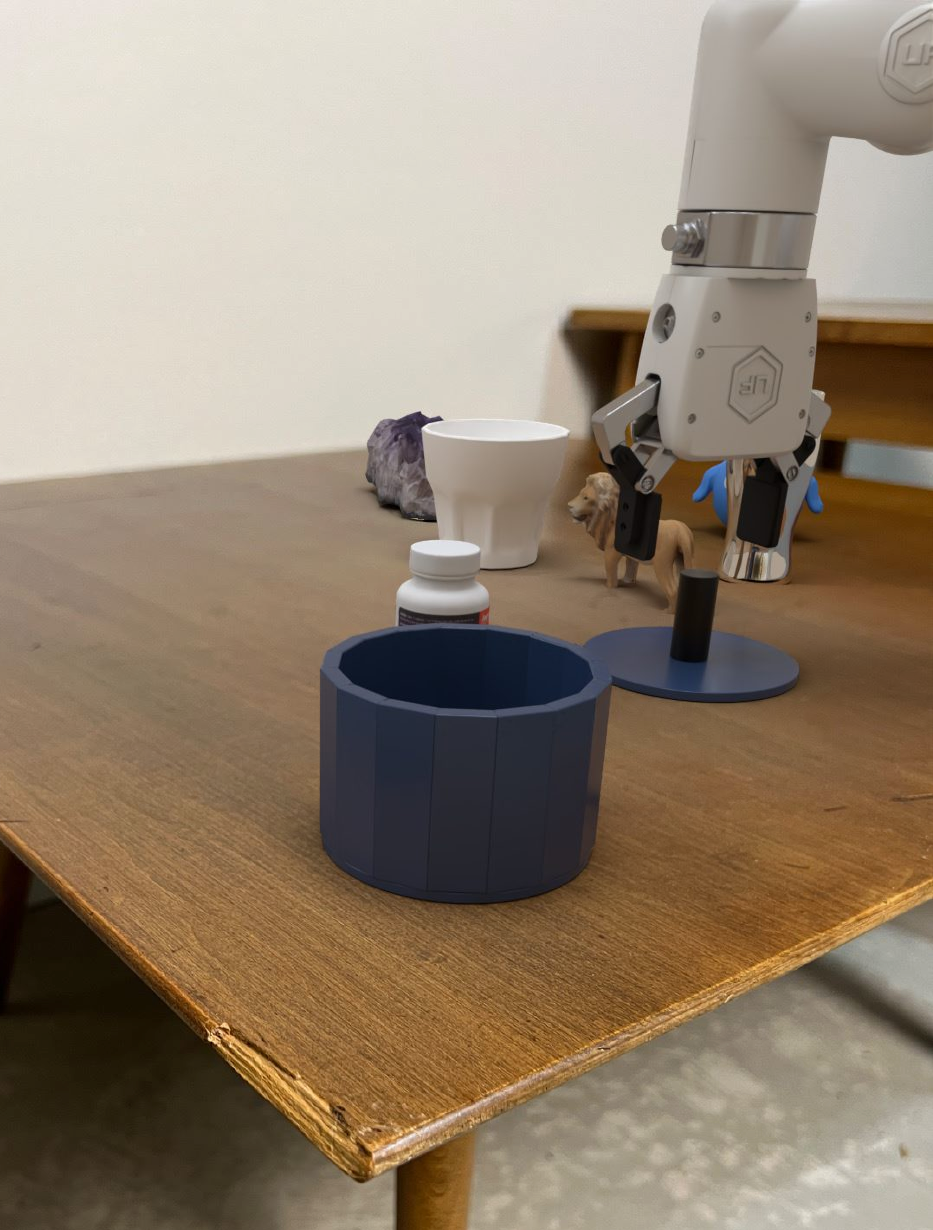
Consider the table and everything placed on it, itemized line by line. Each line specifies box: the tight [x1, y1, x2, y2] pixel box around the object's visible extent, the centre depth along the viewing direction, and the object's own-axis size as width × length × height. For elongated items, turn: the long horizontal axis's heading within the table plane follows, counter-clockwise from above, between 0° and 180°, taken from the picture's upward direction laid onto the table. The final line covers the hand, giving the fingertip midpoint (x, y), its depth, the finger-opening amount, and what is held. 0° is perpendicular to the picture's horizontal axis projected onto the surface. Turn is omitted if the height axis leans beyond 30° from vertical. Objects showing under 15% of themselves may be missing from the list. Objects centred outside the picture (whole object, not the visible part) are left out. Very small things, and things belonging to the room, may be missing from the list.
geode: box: [364, 410, 445, 520], centre depth 127 cm, size 20×12×10 cm, turn 7°
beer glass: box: [715, 389, 826, 586], centre depth 99 cm, size 7×7×15 cm
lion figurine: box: [567, 472, 695, 615], centre depth 93 cm, size 15×5×9 cm, turn 33°
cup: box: [422, 418, 571, 570], centre depth 105 cm, size 12×12×11 cm
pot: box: [319, 623, 613, 904], centre depth 55 cm, size 13×13×8 cm
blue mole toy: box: [692, 460, 824, 527], centre depth 114 cm, size 12×12×8 cm
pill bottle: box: [394, 539, 491, 627], centre depth 71 cm, size 5×5×10 cm
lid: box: [582, 568, 800, 703], centre depth 77 cm, size 14×14×7 cm
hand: (696, 549), depth 76 cm, fingers open, 9 cm apart
